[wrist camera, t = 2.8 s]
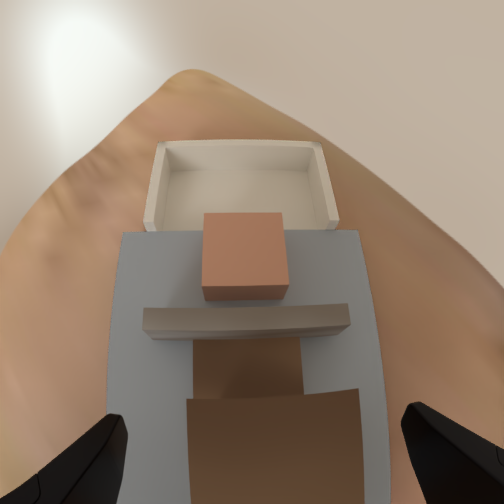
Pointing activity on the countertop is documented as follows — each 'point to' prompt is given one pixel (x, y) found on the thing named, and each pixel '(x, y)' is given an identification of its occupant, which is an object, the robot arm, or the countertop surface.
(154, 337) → the scraper
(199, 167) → the tray
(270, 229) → the tile
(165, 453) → the board
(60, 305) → the countertop surface
